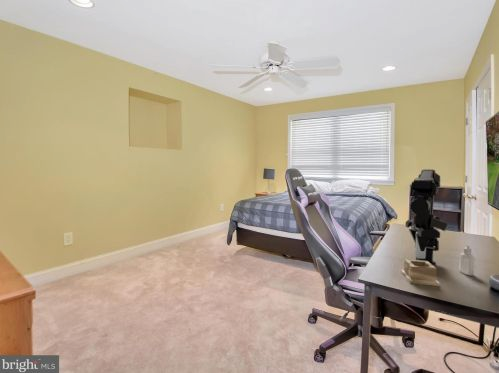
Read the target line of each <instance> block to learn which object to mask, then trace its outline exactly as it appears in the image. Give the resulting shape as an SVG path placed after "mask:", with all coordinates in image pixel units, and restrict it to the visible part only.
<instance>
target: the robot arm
mask: <svg viewBox="0 0 499 373" xmlns="http://www.w3.org/2000/svg"><path fill="white" fill-rule="evenodd" d="M439 188H441V175H440V174H439V173H436V170H435V169H430V168H429V169H425V168H424V169H421V172H420V174H419V175H418V177H415V178H414V179H413V180H412V182H411V186H410V191H409V193H410V194H409V197H414V198H413V200H412V202H410V204H409V207H410V210H411V215H412V216H413V219H407V221H405V227H406V228H409V229H408V232H409V233H410V235H411V237H412V239H413V241H414V245H415V246H416V238H417V241H418V245H419V248H420V250H421V251H424V250H425V248H426V256H425V258H424V259H421V258H417V257H415V260H421V261H428V262H429V263H431V264H432V265H437V262H435V261H434V252H438V251H439V249H440V241H439V240H438V239H439V238H441V232H440V231H439V230H441V231H442V232H446V230H447V227H448V225H449V223H448V222H445V221H443V220H441V217H439V216H436V215H434V201H435V200H434V197H435V196H437V193H438V191H439ZM438 229H439V230H438ZM417 231H418V234H416V232H417ZM415 246H414V247H415Z"/></svg>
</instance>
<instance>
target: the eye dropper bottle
mask: <svg viewBox="0 0 499 373" xmlns="http://www.w3.org/2000/svg"><path fill="white" fill-rule="evenodd" d="M475 260H476V259H475V257H474V255H473V254H472V248H471V247H470V245H469V244H467V245H466V247H464V248H463V252H461V253H460V254H459V264H458V265H459V267H458V269H459V270H458V271H459V272H460V273H461V274H463V275H465V276H474V275H475V265H476V264H475Z"/></svg>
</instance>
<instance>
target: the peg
mask: <svg viewBox="0 0 499 373" xmlns="http://www.w3.org/2000/svg"><path fill="white" fill-rule="evenodd" d="M416 234H418V231H417V232H416ZM414 248H415V250H414V251H415V252H414V257H415V258H416V257H417V258H421V259H424V258H425V256H426V248H425V250H424V251H421V250H420V248H419V245H418V241H417V238H416V246H414Z"/></svg>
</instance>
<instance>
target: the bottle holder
mask: <svg viewBox="0 0 499 373" xmlns="http://www.w3.org/2000/svg"><path fill="white" fill-rule="evenodd" d="M403 264H404V267H403V268H404V269H402V268H401V269H400V272H401V274H402V275H403V276H404V277H405V279H406V280H407V281H408V282H409V284H411V285H413V284H414V285H424V286H425V285H426V286H436V287H440V286H441V283H440V282H439V281H438V280H437V267H435V266H434V264H431V263H429V262H428V261H421V260H417V259H404V263H403Z"/></svg>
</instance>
